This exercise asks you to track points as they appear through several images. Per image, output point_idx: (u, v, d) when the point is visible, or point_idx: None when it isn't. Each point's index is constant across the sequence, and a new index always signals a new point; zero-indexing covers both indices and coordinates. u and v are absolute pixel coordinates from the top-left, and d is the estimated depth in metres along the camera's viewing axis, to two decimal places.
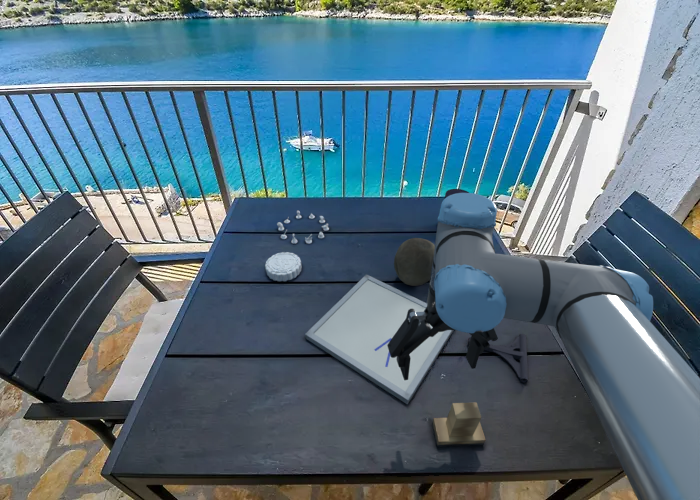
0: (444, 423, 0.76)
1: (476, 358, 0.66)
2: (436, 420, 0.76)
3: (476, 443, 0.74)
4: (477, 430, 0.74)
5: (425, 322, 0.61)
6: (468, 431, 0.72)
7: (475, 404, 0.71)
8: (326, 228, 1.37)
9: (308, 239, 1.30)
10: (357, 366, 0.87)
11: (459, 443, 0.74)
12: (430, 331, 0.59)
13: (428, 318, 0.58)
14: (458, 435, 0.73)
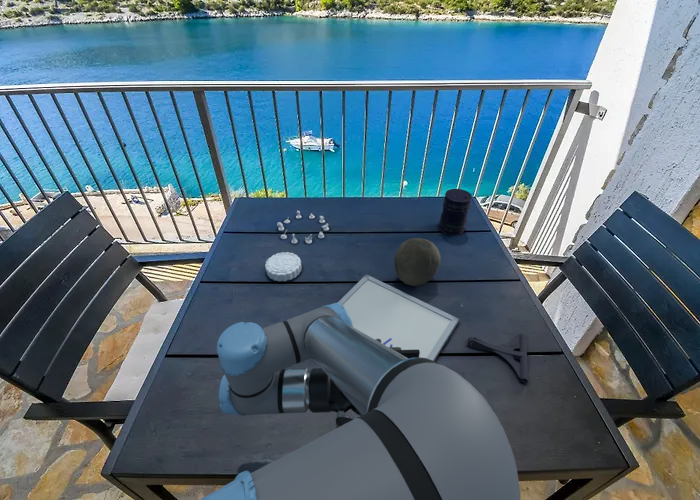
0: None
1: (403, 351, 0.68)
2: None
3: None
4: None
5: (356, 410, 0.61)
6: None
7: None
8: (326, 228, 1.37)
9: (308, 239, 1.30)
10: None
11: None
12: None
13: (339, 407, 0.60)
14: None
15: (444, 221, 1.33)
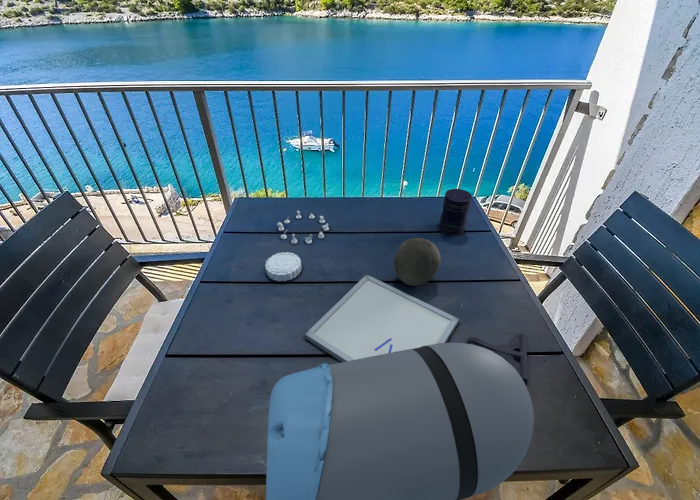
0: None
1: None
2: None
3: None
4: None
5: None
6: None
7: None
8: (326, 228, 1.37)
9: (308, 239, 1.30)
10: None
11: None
12: None
13: None
14: None
15: (444, 221, 1.33)
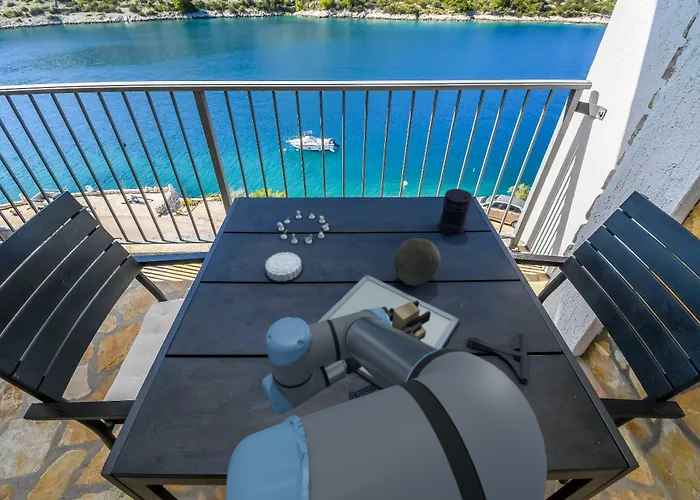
0: None
1: None
2: None
3: (420, 338, 0.83)
4: None
5: None
6: None
7: (410, 303, 0.79)
8: (326, 228, 1.37)
9: (308, 239, 1.30)
10: None
11: None
12: None
13: None
14: None
15: (444, 221, 1.33)
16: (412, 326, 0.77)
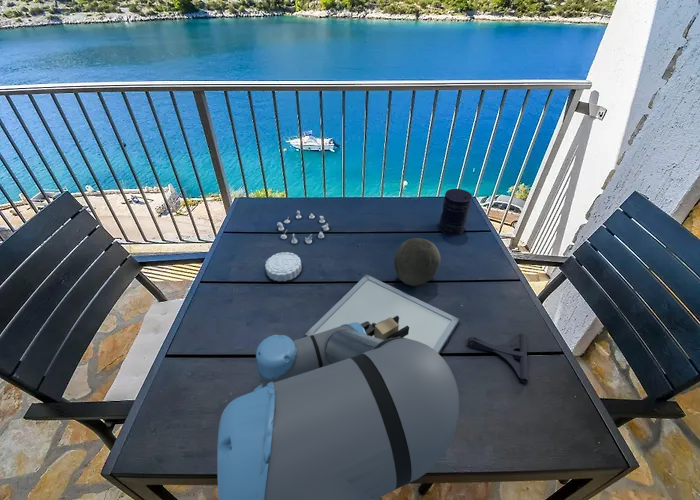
0: None
1: None
2: None
3: None
4: None
5: None
6: None
7: (390, 318, 0.86)
8: (326, 228, 1.37)
9: (308, 239, 1.30)
10: None
11: None
12: None
13: None
14: None
15: (444, 221, 1.33)
16: None
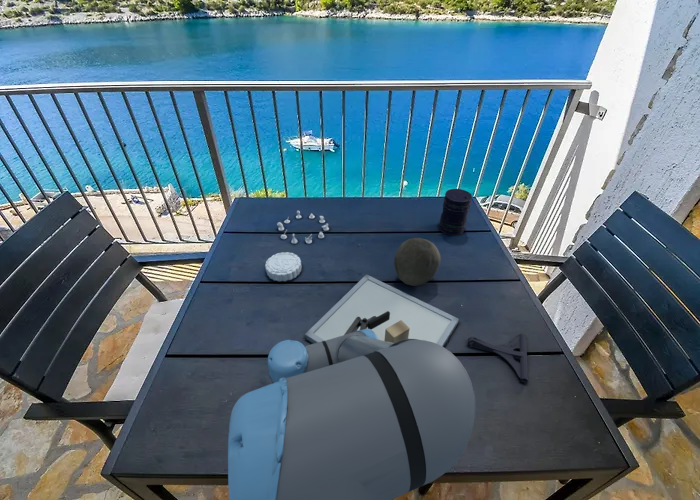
0: None
1: (379, 316, 0.89)
2: None
3: None
4: None
5: None
6: None
7: (401, 321, 0.86)
8: (326, 228, 1.37)
9: (308, 239, 1.30)
10: None
11: None
12: None
13: None
14: None
15: (444, 221, 1.33)
16: None
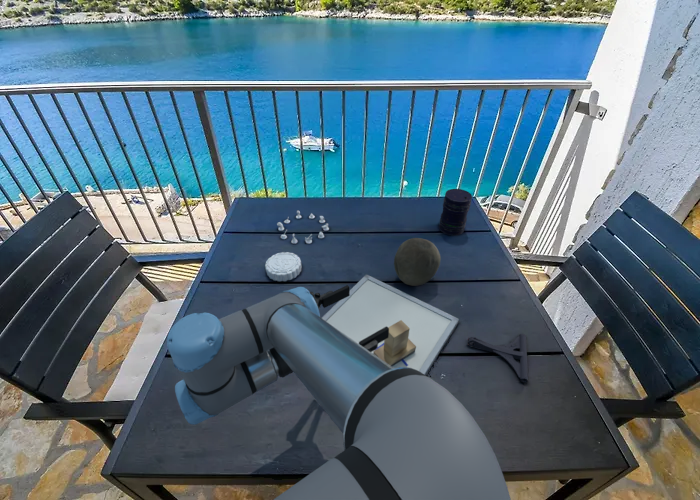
0: (383, 350, 0.88)
1: (336, 291, 0.74)
2: (376, 351, 0.88)
3: (410, 353, 0.90)
4: (407, 343, 0.90)
5: None
6: (402, 346, 0.87)
7: (401, 321, 0.86)
8: (326, 228, 1.37)
9: (308, 239, 1.30)
10: None
11: (400, 359, 0.88)
12: None
13: None
14: (397, 353, 0.87)
15: (444, 221, 1.33)
16: (365, 345, 0.64)
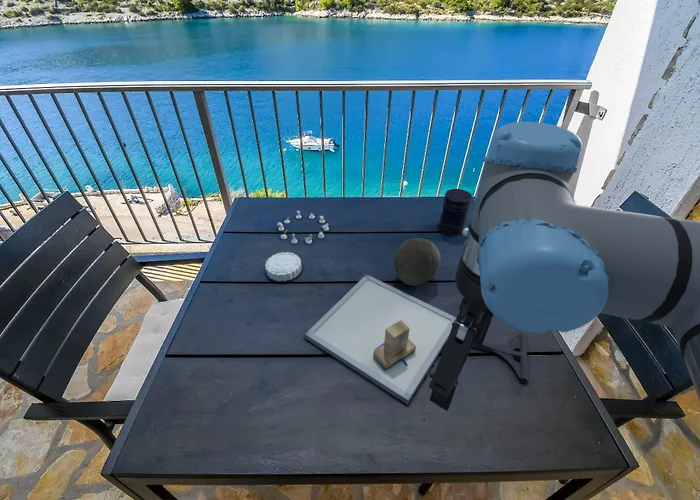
0: (383, 350, 0.88)
1: None
2: (376, 351, 0.88)
3: (410, 353, 0.90)
4: (407, 343, 0.90)
5: None
6: (402, 346, 0.87)
7: (401, 321, 0.86)
8: (326, 228, 1.37)
9: (308, 239, 1.30)
10: (357, 366, 0.87)
11: (400, 359, 0.88)
12: (479, 334, 0.42)
13: (478, 320, 0.41)
14: (397, 353, 0.87)
15: (444, 221, 1.33)
16: None
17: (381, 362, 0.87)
